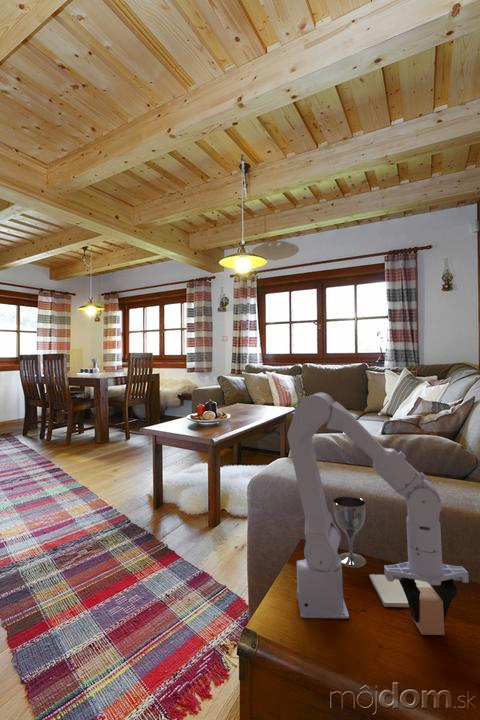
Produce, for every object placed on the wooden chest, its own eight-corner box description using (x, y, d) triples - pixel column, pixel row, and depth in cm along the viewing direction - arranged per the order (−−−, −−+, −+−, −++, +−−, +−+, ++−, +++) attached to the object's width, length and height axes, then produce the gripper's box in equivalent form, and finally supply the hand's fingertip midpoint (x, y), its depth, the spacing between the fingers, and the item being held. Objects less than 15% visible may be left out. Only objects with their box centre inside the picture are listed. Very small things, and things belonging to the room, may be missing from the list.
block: (421, 634, 63) (420, 600, 63) (412, 618, 67) (410, 587, 67) (444, 634, 63) (442, 601, 63) (433, 619, 67) (432, 587, 67)
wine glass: (373, 559, 89) (370, 500, 90) (359, 572, 83) (356, 509, 84) (344, 549, 95) (342, 493, 95) (329, 561, 89) (327, 501, 89)
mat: (384, 606, 71) (384, 602, 71) (369, 578, 81) (369, 574, 81) (444, 607, 70) (444, 603, 70) (422, 578, 80) (422, 575, 80)
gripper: (392, 555, 62) (395, 633, 61) (477, 556, 61) (481, 635, 60) (379, 537, 69) (382, 606, 68) (455, 537, 68) (458, 608, 67)
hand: (427, 618), depth 65 cm, fingers closed on block, 4 cm apart
